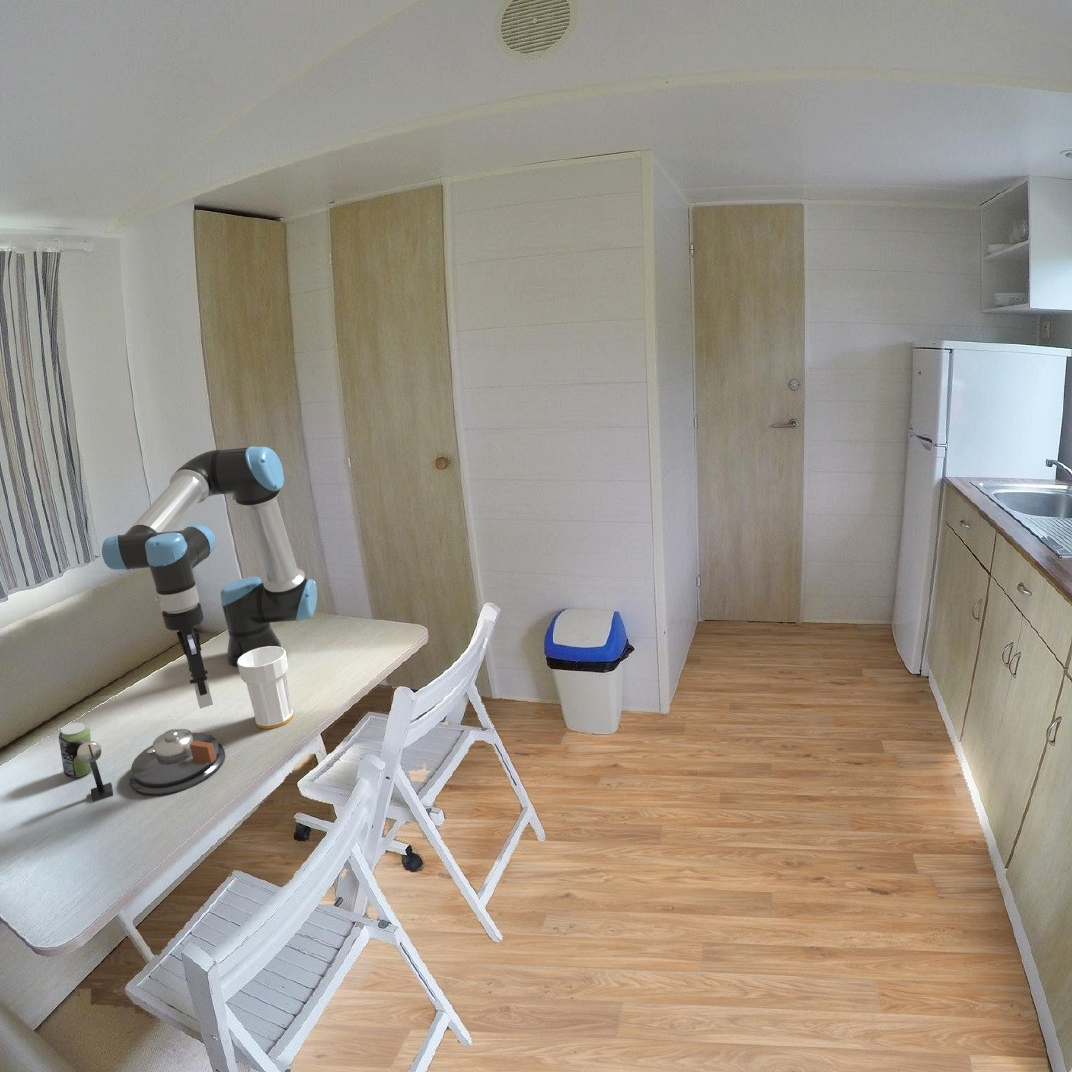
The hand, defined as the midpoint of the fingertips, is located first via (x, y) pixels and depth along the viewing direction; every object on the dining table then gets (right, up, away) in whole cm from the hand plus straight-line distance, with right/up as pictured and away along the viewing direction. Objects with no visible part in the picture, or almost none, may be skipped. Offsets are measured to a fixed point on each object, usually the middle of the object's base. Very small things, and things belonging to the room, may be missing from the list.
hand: (206, 705), depth 168 cm
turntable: (-8, -14, +5) cm, 17 cm away
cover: (-9, -12, +5) cm, 16 cm away
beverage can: (-31, -17, +8) cm, 37 cm away
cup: (+7, -9, +24) cm, 26 cm away
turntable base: (-9, -16, +6) cm, 19 cm away
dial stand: (-22, -19, -1) cm, 29 cm away
